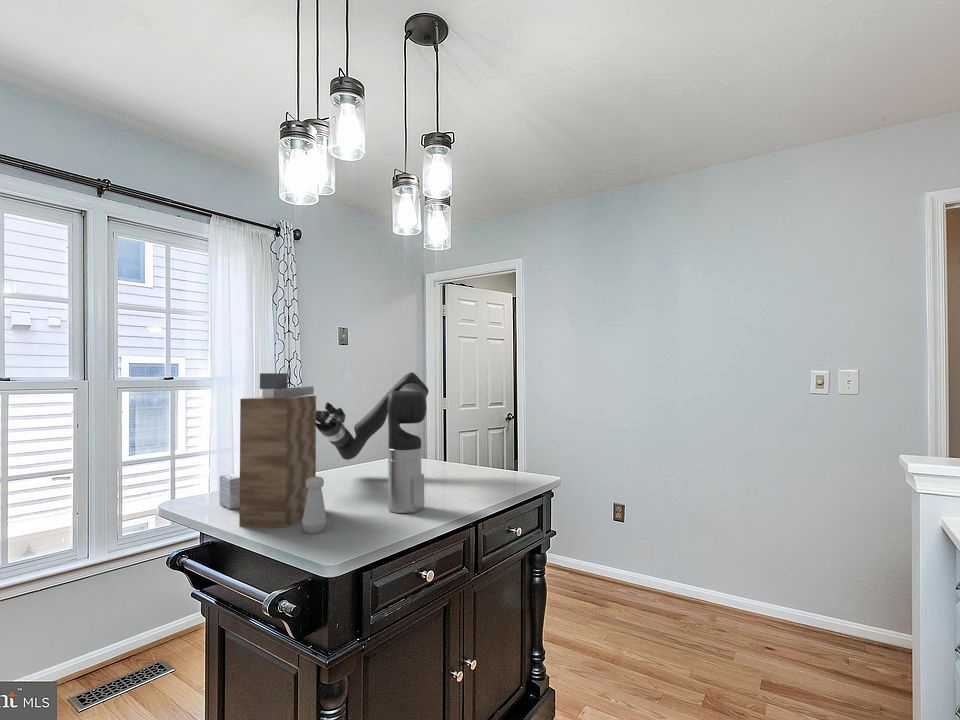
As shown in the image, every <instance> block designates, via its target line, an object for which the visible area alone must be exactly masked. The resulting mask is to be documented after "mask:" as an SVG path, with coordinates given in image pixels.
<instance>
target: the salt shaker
mask: <svg viewBox="0 0 960 720" xmlns="http://www.w3.org/2000/svg"><path fill="white" fill-rule="evenodd" d="M324 486H325V481H324V478H323V477H321V476H316V477H310V478H307V479H306V488H308V493H307V498H306V503H305V509H304V514H303V516H302V520H301V524H302V528H303V529H304V532H305V534H311V535H312V534H319V533H322V532H324V530H325V527H326V525H327V524H328V523H327V522H328V519H327V515H326V514H327V513H326V508H325V501H324V496H323V490H322V488H323V487H324Z"/></svg>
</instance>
